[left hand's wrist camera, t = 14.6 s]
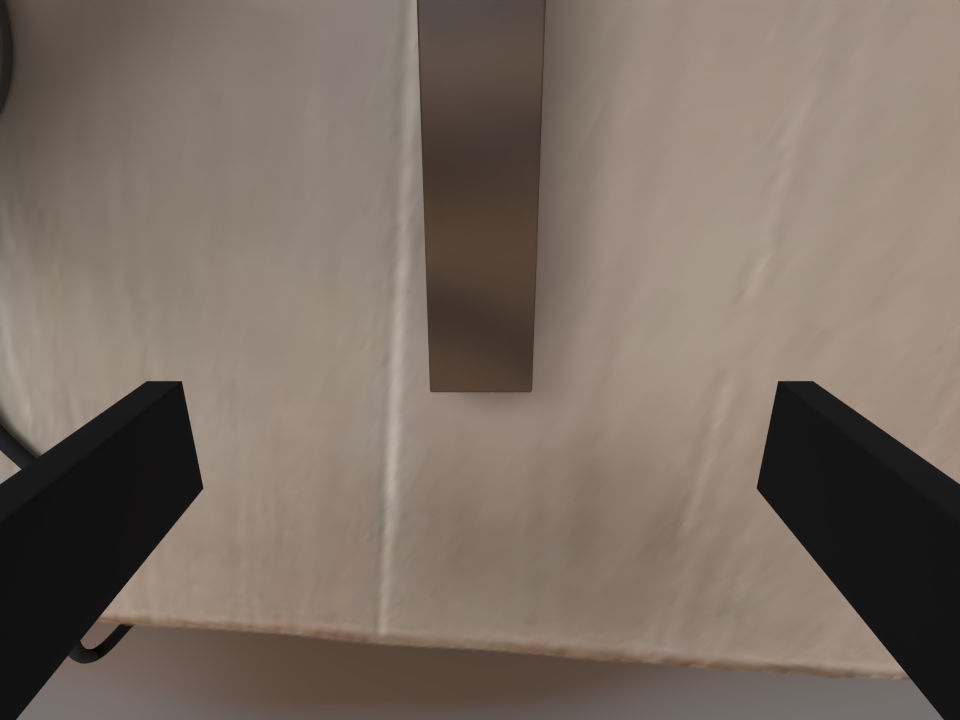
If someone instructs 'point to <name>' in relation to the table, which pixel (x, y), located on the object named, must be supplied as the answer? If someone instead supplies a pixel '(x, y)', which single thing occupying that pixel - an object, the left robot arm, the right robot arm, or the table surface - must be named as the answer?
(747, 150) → the table surface
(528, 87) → the beam
